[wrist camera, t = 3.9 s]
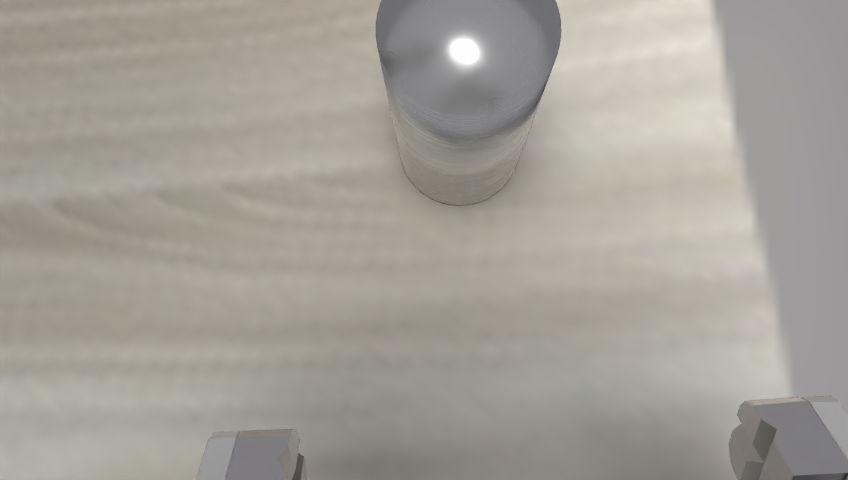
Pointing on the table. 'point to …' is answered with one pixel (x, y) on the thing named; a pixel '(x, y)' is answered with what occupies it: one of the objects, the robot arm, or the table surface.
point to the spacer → (464, 87)
